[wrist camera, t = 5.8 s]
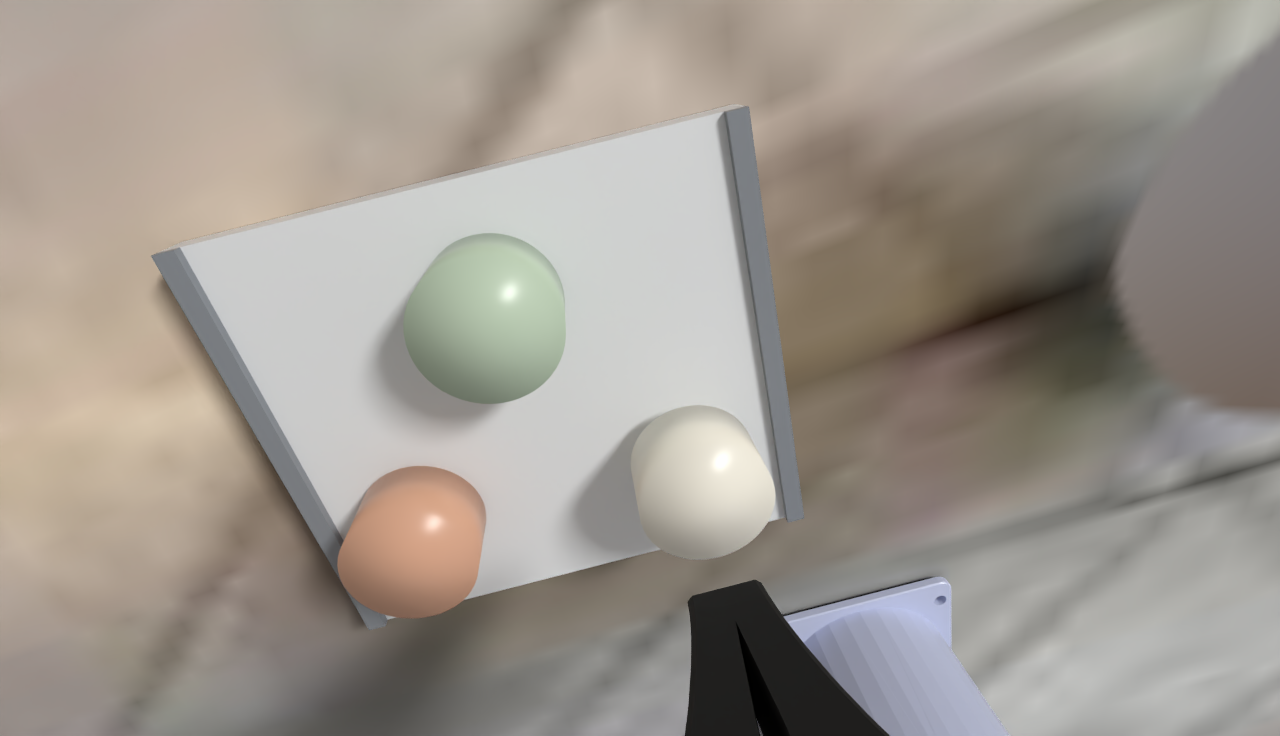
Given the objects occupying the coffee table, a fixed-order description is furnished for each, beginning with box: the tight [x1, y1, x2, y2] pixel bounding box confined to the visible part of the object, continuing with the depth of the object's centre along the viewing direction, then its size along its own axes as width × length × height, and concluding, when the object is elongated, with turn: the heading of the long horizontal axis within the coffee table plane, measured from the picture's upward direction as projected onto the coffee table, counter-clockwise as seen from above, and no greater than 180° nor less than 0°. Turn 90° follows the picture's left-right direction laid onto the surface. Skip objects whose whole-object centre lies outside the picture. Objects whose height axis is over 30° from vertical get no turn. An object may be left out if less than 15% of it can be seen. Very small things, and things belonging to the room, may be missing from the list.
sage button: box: [403, 233, 566, 404], centre depth 17 cm, size 4×4×2 cm
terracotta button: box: [337, 466, 486, 618], centre depth 20 cm, size 4×4×2 cm
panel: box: [151, 104, 804, 630], centre depth 20 cm, size 14×16×2 cm
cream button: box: [631, 405, 775, 560], centre depth 19 cm, size 4×4×2 cm
